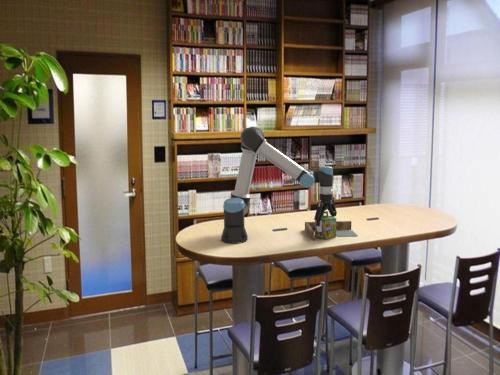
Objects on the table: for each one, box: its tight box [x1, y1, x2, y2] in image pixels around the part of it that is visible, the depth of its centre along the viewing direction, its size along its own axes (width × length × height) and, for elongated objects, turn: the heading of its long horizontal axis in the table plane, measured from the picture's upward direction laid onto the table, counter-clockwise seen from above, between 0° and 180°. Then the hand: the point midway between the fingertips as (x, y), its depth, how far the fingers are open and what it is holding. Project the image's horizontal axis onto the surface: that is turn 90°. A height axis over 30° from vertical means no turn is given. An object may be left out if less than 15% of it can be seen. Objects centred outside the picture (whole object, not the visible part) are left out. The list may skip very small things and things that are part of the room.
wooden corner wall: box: [304, 220, 352, 241], centre depth 273 cm, size 29×22×5 cm
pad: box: [336, 230, 358, 238], centre depth 274 cm, size 12×12×1 cm
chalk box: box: [314, 210, 337, 240], centre depth 267 cm, size 9×9×15 cm
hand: (325, 229), depth 268 cm, fingers open, 13 cm apart
